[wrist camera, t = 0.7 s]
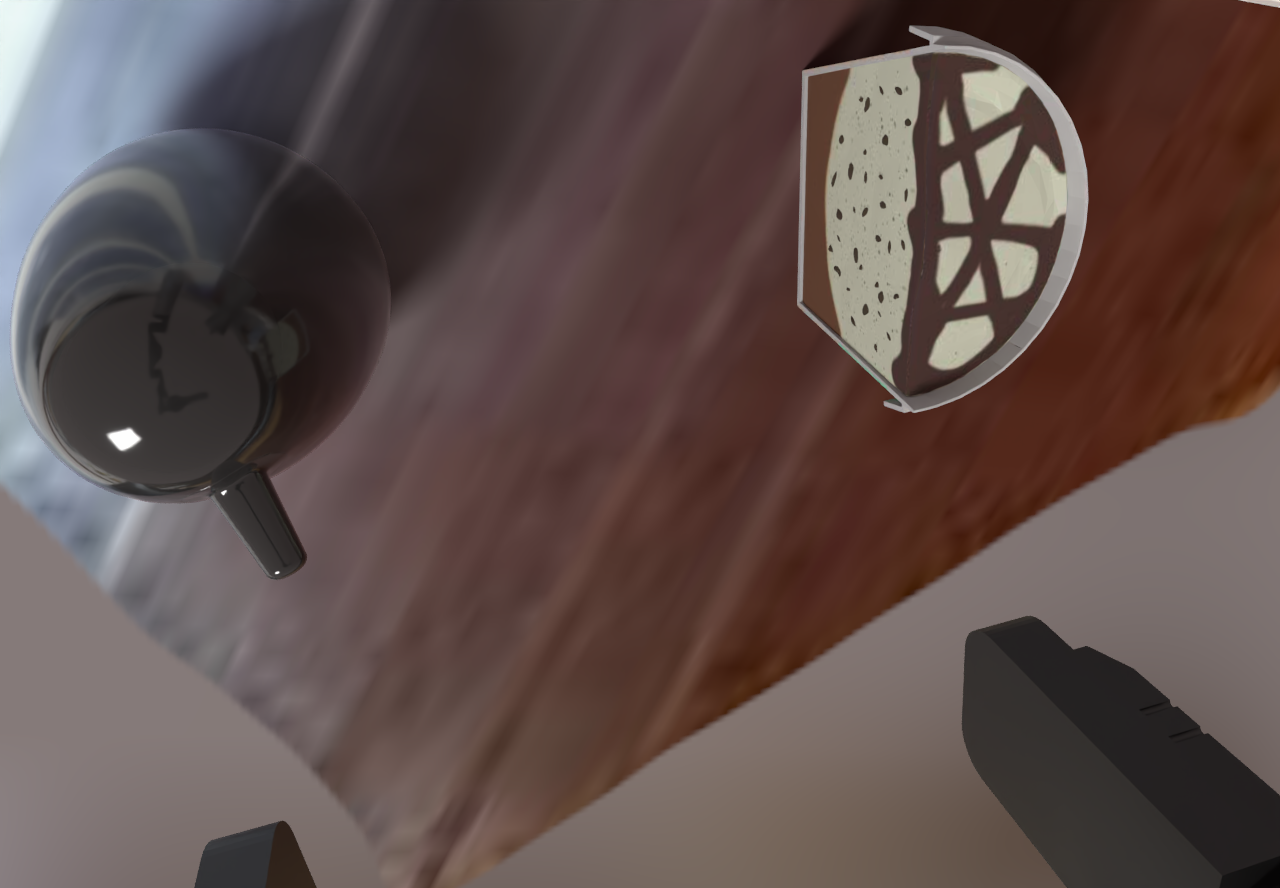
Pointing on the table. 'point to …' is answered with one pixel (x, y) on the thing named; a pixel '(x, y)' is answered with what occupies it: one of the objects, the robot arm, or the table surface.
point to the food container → (936, 212)
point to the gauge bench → (1266, 2)
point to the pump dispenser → (199, 324)
